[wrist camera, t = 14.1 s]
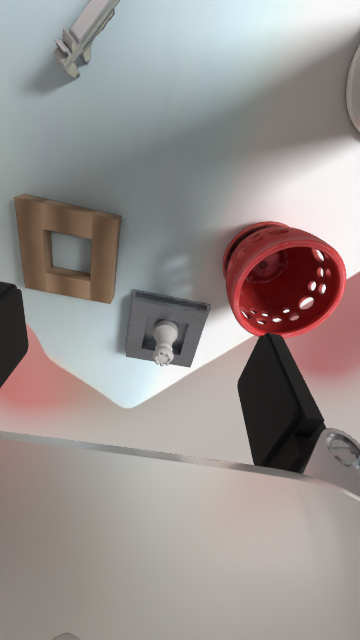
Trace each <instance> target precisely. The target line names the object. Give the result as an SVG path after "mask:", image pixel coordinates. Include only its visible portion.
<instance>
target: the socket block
mask: <svg viewBox="0 0 360 640" xmlns="http://www.w3.org/2000/svg"><path fill="white" fill-rule="evenodd" d="M14 200H15V208H16V216H17V225H18V233H19V241H20V249H21V258H22V266H23V274H24V283H25V288H29V289H34V290H40V291H45V292H50V293H55V294H61V295H66V296H71V297H76V298H82V299H87V300H92V301H98V302H103V303H108V304H111V302H112V300H113V298H114V291H115V280H116V269H117V258H118V247H119V236H120V224H121V216H118V215H114V214H109V213H105V212H101V211H96V210H92V209H87V208H83V207H79V206H74V205H70V204H65V203H61V202H56V201H52V200H48V199H43V198H39V197H34V196H30V195H25V194H23V195H20V196H17V197H14ZM51 231H55V232H60V233H64V234H69V235H74V236H78V237H83V238H88V239H92V245H91V274H89V273H84V272H79V271H74V270H69V269H64V268H59V267H54V266H53V263H52V244H51Z"/></svg>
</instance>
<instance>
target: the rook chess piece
mask: <svg viewBox="0 0 360 640" xmlns="http://www.w3.org/2000/svg"><path fill="white" fill-rule="evenodd" d="M153 336H154V339H155V340H156V342H157V346H156V347H155V351H154V353H153V358H154V360H155V361H156V362H155V363H156V364H157V365H158V364H159V363H160V366H163V365H164V364H166V366H167V365H169V362H171V361H172V360H173V357H174V355H173V352H172V350H173V349H172V343H173V342H174V341H175V340H176V339H177V336H178V328H177V326H176V325H175V324H174V323H172V322H171V321H160V322H158V323H156V324H155V326H154V328H153Z"/></svg>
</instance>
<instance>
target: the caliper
mask: <svg viewBox="0 0 360 640" xmlns="http://www.w3.org/2000/svg"><path fill="white" fill-rule="evenodd" d="M119 1H120V0H91V1H90V2H89V4H88V5H87V7H86V8H85V9H84V11H83V12H82V13H81V15H80V16H79V18H78V19H77V20H76V22H75V23H74V25H73V26H72V27H71V29H70V31H71V33H70V34H69V33H68V31H67V30H66V29H65V28H63V36H62V37H63V41H64V42H62V41H61V40H59V39H56V40H55V42H56V44H57V46H58V48H57V49H56V51H55V52H54V54H55V56H56V58H57V60H58V63H59V64H60V65H61V67H62V68H63V69H64V70H65V71H66V72H67V73H68V74H69V75H71V76H72V77H74V78H76V79H77V78H78V77H79V76H80V74H79V72H78V69H77V66H76V63H75V60H76V59H77V58H78V56H79V55H80V56H81V57H82V59H83V60H84V61H85V62H86V64H88V63H89V61H90V56H91V42H92V40H93V39H94V38H95V36H96V35H98V34H99V33H100V32H101V31H102V30H103V29H104V27H105V26H106V24H107V22H108V21H109V20H110V19H111V18H112V17H113V15H114V8H115V7H116V5H117V4H118V3H119Z"/></svg>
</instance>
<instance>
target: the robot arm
mask: <svg viewBox="0 0 360 640" xmlns="http://www.w3.org/2000/svg"><path fill="white" fill-rule="evenodd" d="M346 102H347V108H348V113H349V116H350V118H351V121H352V123H353V124H354V126H355V127H356V129H357V130H358V131H359V132H360V44H359V46H358V48H357V50H356V52H355V55H354V57H353V60H352V64H351V67H350V70H349V74H348V80H347V86H346ZM27 350H28V338H27V330H26V323H25V315H24V307H23V300H22V293H21V290H20V289H17V287H16V285H14V284H10V283H5V282H0V388H1V386H2V385H3V384H4V382H5V381H6V380H7V378H8V377H9V376H10V374H11V373H12V371H13V370H14V369H15V368H16V366H17V365H18V364H19V362H20V361H21V360H22V358H23V357H24V356H25V354H26V353H27ZM238 393H239V397H240V402H241V406H242V411H243V416H244V421H245V425H246V430H247V435H248V439H249V444H250V448H251V453H252V458H253V462H254V465H248V464H242V463H236V462H228V461H221V460H214V459H207V458H200V457H192V456H185V455H178V454H171V453H163V452H156V451H148V450H141V449H133V448H126V447H119V446H112V445H104V444H97V443H89V442H81V441H74V440H66V439H58V438H51V437H42V436H35V435H28V434H19V433H12V432H3V431H0V640H360V444H359V443H358V442H357V441H356V440H355V439H353V438H352V437H351V436H349V435H348V434H346V433H345V432H343V431H340V430H338V429H333V428H328V429H327V428H326V426H325V424H324V419H323V417H322V415H321V413H320V411H319V409H318V407H317V405H316V403H315V401H314V399H313V397H312V395H311V393H310V391H309V389H308V387H307V385H306V383H305V381H304V379H303V377H302V375H301V373H300V371H299V369H298V367H297V365H296V363H295V361H294V359H293V357H292V355H291V353H290V351H289V349H288V347H287V345H286V343H285V341H284V339H283V337H282V336H281V335H278V334H273V333H265V334H264V335H261V336H260V337H259V339H258V341H257V344H256V345H255V347H254V350H253V351H252V353H251V356H250V358H249V360H248V362H247V364H246V366H245V368H244V370H243V372H242V374H241V376H240V378H239V380H238Z"/></svg>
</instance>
